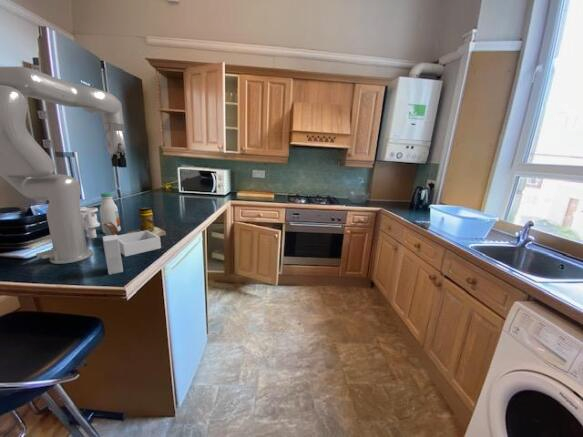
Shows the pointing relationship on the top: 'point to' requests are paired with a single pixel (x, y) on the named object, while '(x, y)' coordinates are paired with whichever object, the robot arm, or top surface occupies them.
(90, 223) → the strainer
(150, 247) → the bin
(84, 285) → the top surface
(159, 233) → the board
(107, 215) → the milk bottle
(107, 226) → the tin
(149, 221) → the condiment
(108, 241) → the skincare box
